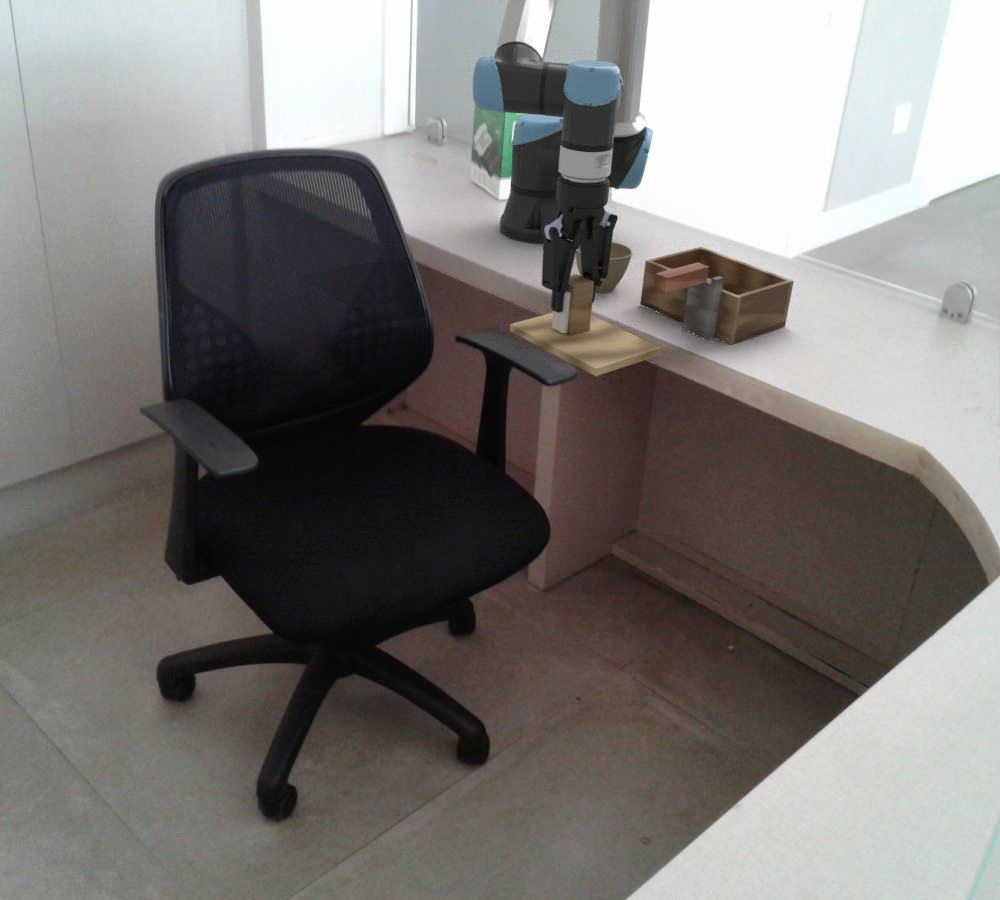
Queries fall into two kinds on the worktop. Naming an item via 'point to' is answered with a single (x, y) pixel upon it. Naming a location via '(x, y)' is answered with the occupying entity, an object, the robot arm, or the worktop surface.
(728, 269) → the brown wooden box
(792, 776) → the worktop surface
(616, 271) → the flower pot
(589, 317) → the wooden block with peg
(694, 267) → the reddish brown rectangular block
